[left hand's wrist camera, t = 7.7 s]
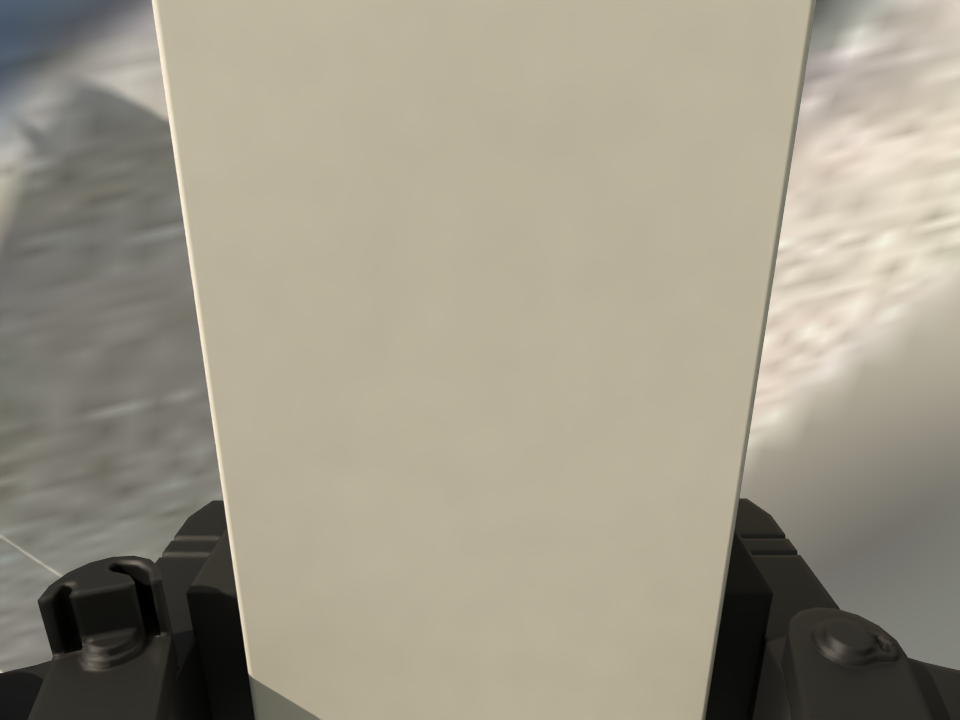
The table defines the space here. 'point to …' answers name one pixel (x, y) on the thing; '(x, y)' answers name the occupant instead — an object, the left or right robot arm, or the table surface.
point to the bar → (482, 336)
